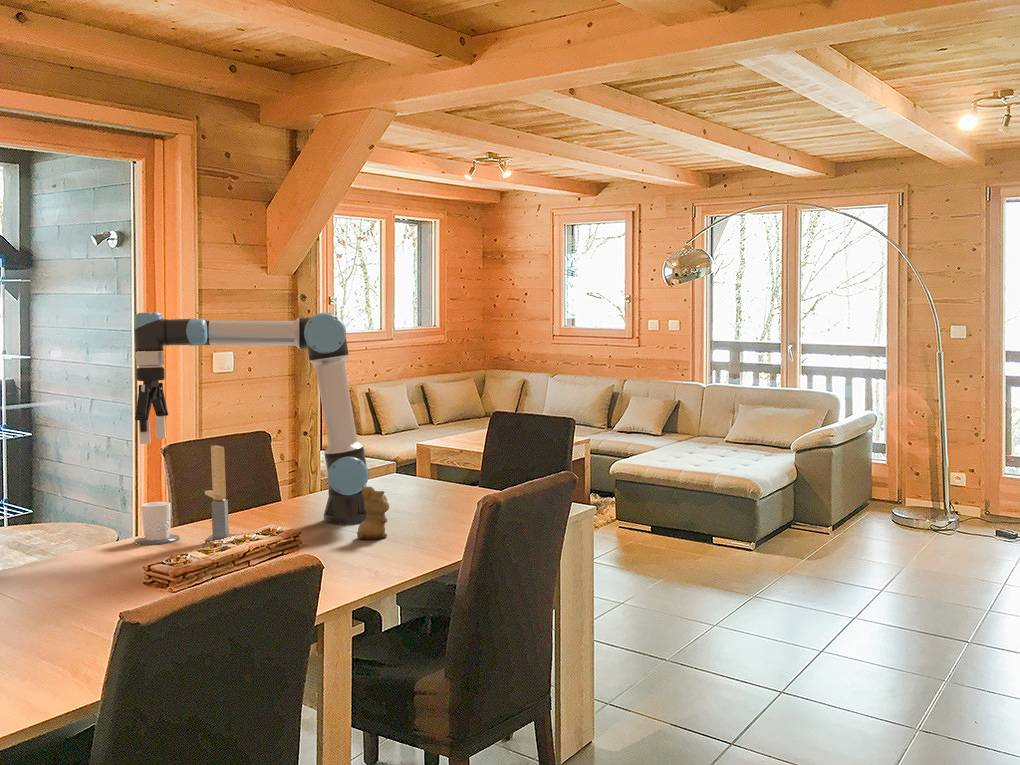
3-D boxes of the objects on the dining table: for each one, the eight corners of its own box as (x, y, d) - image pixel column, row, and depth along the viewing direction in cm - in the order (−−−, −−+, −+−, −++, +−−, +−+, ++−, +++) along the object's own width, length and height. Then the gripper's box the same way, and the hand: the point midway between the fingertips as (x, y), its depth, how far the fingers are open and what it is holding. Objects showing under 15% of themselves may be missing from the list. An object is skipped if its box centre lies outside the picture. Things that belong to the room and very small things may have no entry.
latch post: (236, 538, 264) (235, 498, 264) (230, 543, 257) (229, 502, 257) (211, 538, 264) (210, 499, 263) (205, 544, 257) (203, 503, 256)
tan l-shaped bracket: (228, 501, 258) (226, 447, 257) (217, 502, 256) (215, 448, 256) (213, 494, 271) (211, 442, 270) (202, 495, 269) (200, 443, 269)
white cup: (162, 541, 259) (160, 506, 258) (136, 541, 260) (135, 506, 260) (177, 535, 266) (176, 501, 266) (153, 535, 268) (151, 501, 268)
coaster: (184, 535, 270) (184, 533, 270) (172, 544, 258) (172, 542, 258) (143, 536, 269) (143, 534, 269) (128, 545, 257) (128, 543, 257)
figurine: (397, 535, 262) (396, 483, 261) (384, 542, 254) (382, 488, 253) (367, 534, 265) (365, 482, 265) (352, 540, 257) (350, 487, 257)
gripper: (151, 366, 274) (154, 436, 274) (120, 368, 249) (124, 446, 250) (176, 365, 274) (179, 436, 275) (149, 367, 249) (152, 445, 250)
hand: (153, 441), depth 262 cm, fingers open, 13 cm apart
